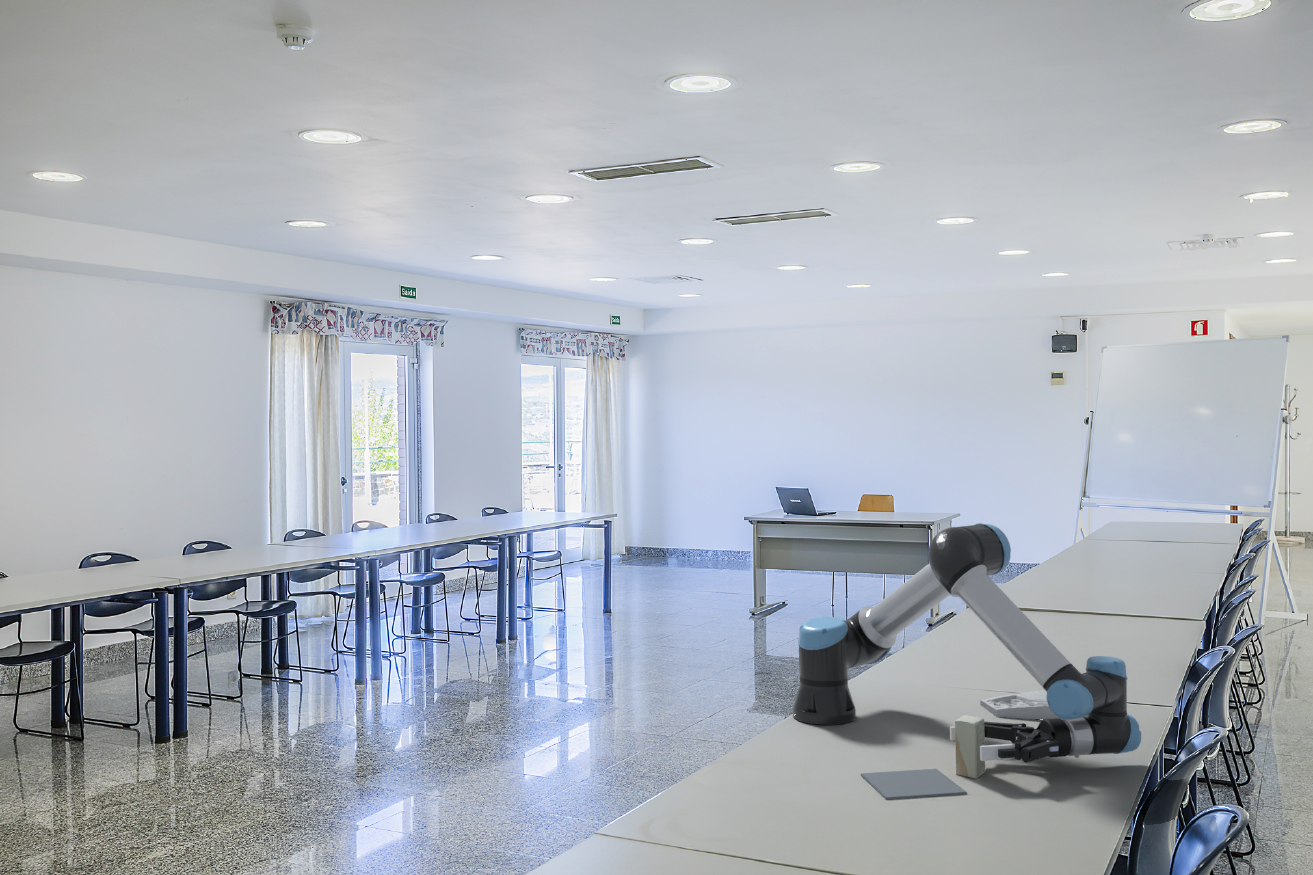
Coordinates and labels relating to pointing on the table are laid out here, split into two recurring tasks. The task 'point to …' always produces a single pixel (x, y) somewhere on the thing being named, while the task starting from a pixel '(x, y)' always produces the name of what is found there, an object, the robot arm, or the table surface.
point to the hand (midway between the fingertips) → (965, 743)
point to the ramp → (1020, 706)
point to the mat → (912, 784)
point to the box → (969, 746)
